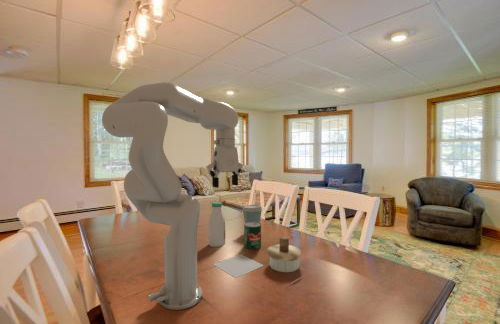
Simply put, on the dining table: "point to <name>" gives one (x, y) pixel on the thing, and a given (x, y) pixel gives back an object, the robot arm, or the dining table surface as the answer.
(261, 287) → the dining table surface
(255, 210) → the disposable coffee cup
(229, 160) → the robot arm
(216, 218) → the milk bottle
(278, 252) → the lid
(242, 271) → the mat
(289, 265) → the bowl
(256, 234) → the canned tomato
